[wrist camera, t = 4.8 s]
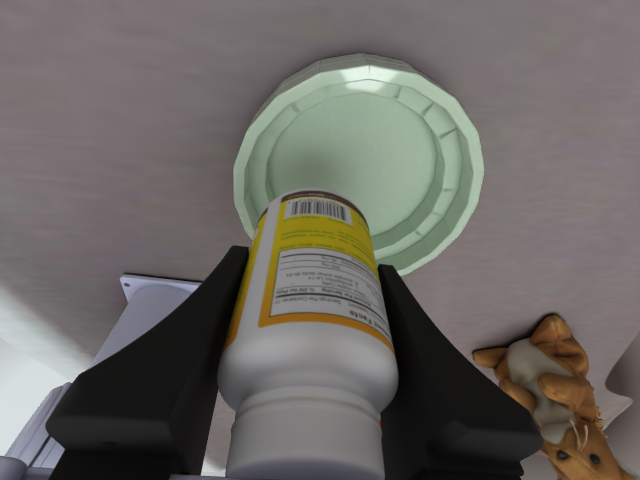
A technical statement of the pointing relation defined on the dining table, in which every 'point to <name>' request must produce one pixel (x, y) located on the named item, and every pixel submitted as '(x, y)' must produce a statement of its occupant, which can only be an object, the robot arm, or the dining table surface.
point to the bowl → (367, 153)
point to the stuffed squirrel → (557, 400)
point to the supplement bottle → (308, 346)
